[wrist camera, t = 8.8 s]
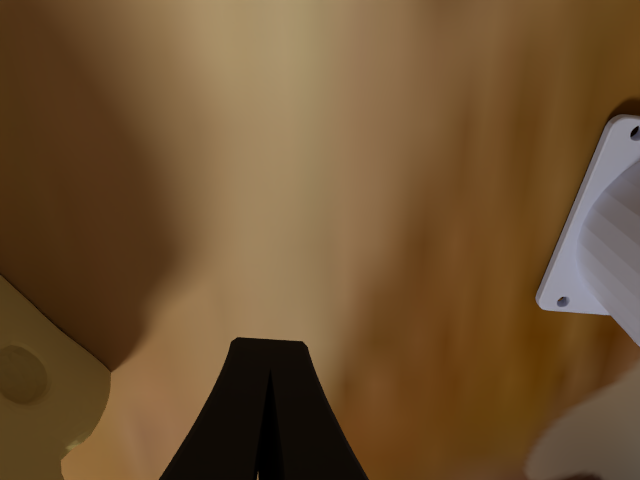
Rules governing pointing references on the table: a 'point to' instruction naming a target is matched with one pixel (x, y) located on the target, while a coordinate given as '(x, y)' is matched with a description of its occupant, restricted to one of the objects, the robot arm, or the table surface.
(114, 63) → the table surface
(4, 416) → the cheese
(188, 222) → the table surface
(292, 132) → the table surface
